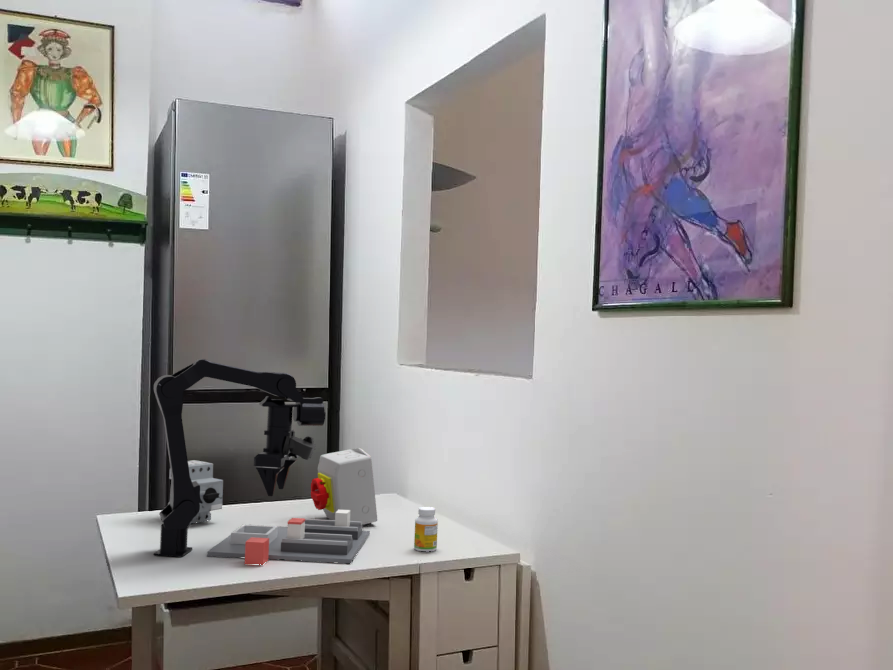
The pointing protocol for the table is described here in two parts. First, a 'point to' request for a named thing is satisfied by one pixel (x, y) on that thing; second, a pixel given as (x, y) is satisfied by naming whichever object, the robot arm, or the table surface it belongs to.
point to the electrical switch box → (345, 485)
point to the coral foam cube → (256, 550)
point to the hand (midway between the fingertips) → (276, 492)
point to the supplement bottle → (426, 530)
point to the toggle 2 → (342, 518)
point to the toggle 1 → (296, 528)
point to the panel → (299, 542)
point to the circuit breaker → (205, 489)
